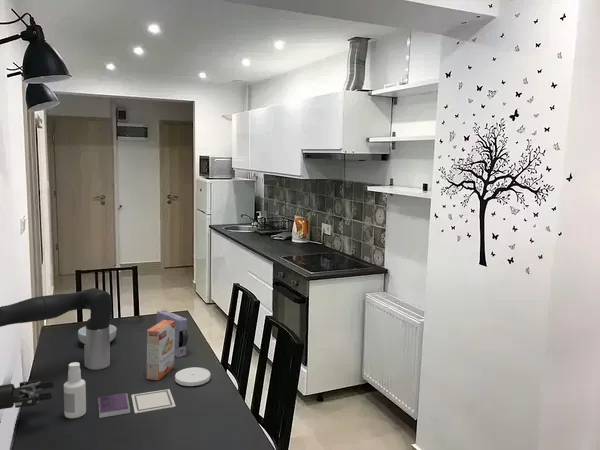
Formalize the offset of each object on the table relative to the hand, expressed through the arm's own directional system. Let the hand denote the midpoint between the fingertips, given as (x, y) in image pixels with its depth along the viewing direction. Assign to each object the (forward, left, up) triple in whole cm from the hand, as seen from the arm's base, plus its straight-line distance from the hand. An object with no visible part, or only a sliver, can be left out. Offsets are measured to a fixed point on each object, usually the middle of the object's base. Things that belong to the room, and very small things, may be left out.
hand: (52, 389), depth 164 cm
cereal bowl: (-25, +63, -10) cm, 69 cm away
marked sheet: (+27, +19, -10) cm, 34 cm away
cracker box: (+19, +41, -10) cm, 46 cm away
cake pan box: (+12, +64, -10) cm, 66 cm away
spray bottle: (+6, +4, -10) cm, 12 cm away
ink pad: (+16, +11, -10) cm, 22 cm away
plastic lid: (+34, +39, -10) cm, 53 cm away
